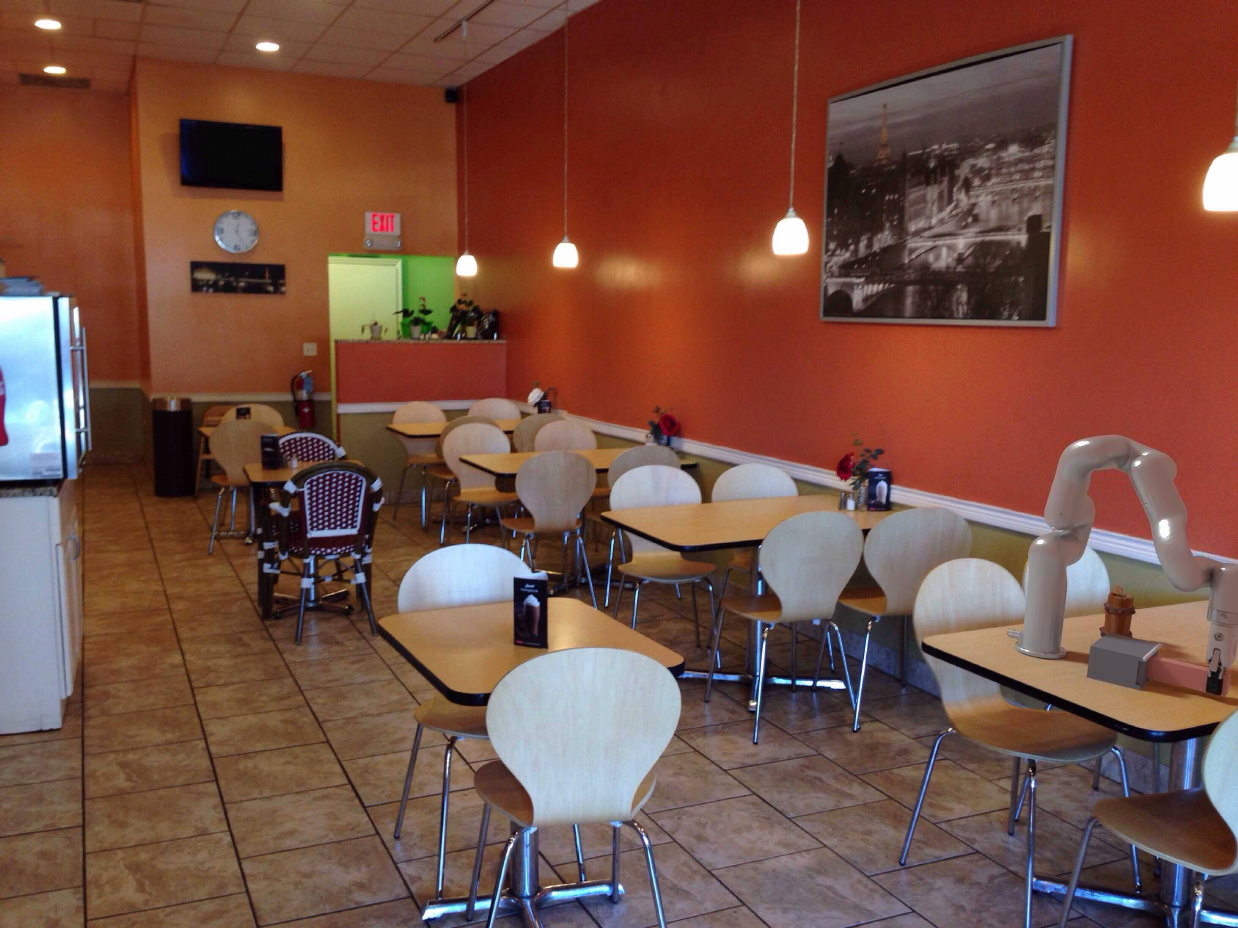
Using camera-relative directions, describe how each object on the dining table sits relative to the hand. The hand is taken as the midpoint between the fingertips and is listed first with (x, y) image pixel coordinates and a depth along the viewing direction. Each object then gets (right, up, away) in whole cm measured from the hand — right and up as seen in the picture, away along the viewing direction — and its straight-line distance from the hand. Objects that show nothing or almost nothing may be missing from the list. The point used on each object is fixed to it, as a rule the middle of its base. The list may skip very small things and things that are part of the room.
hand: (1214, 690), depth 244 cm
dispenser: (-16, +1, +13) cm, 20 cm away
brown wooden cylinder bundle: (-5, +4, +40) cm, 41 cm away
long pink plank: (-5, +1, +4) cm, 7 cm away
